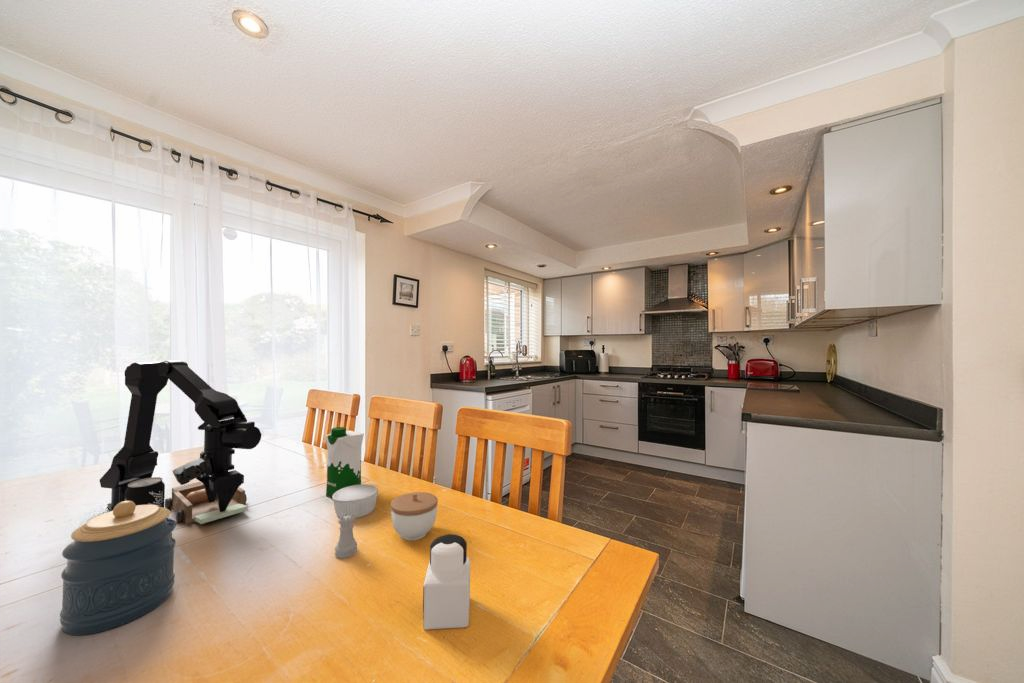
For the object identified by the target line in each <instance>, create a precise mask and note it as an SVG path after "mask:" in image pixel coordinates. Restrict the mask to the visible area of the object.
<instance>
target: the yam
mask: <svg viewBox="0 0 1024 683" xmlns="http://www.w3.org/2000/svg"><path fill="white" fill-rule="evenodd" d="M216 498H217V496H216ZM186 499H187V500H188V501H189V502H190V503H191V504H195V503H199V502H202V501H206V500H208V498H207V495H206V491H205V489H202V490H198V491H194V492H191V493H189V494H188V495H187V496H186Z"/></svg>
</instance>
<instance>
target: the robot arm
mask: <svg viewBox="0 0 1024 683" xmlns="http://www.w3.org/2000/svg"><path fill="white" fill-rule="evenodd" d="M169 380H170V382H171V383H173V385H175V386H176V387H177V388H178V389H179V390H180V391H181V392H182V393H184V395H185V396H187V397H188V398H189V400H191V401H192V402H193V404H194V412H195V413H196V414H197V416H198V417H199V418H200V419H201V421H202V422H203V423H201V424H200V425H199V426H197V430H199V431H204V436H203V437H204V440H203V450H201V452H199V453H200V454H199V458H197V459H195V460H194V459H193V460H192V461H189V462H187V463H185V464H183V465H181V466H178V467H177V468H176V467H175V468H174V469H172V471H171V472H172V473H173V475H174V478H175V479H176V482H177V483H178V484H180V486H183V485H187V484H189V482H191V481H192V480H194V479H196V481H198V482H202V483H203V485H204V488H205V491H206V495H207V498H208V501H209V503H211V502H214V501H215V499H216V496H217V501H218V507H219V511H220V512H223V511H225V510H226V508H227V507H228V505H229V503H230V501H231V499H232V497H233V496H234V494H235V492H236V491H237V489H238V487H241V485H243V484H244V483H245V475H244V474H242V473H241V472H239V471H238V470H236V469H235V464H234V463H232V462H233V455H234V454H236V452H235V451H236V450H235V449H239V450H253V449H254V448H256V447H257V446H258V445H259V444H260V442H261V439H262V432H261V430H260V429H259V427H257V426H256V423H255V421H248V420H247V419H248V418H247V417H246V415H245V414H244V413H243V411H242V409H241V407H240V405H239V403H238V401H237V399H235V398H234V397H232V396H230V395H229V394H227V393H224V392H221V391H217V390H215V388H213V387H212V386H210V385H209V384H208V383H207V382H206V381H205V380H204V379H203V378H201V377H200V376H199V375H198V374H197V373H196V372H195V371H194V370H193V369H191V367H189V365H188V362H186V361H184V360H178V359H174V360H165V361H148V362H147V361H146V362H141V361H139V362H132V363H131V364H129V365H127V366H126V368H125V369H124V385H125V386H126V388H127V389H128V390H129V392H130V393H131V398H130V404H129V410H128V416H127V423H126V430H125V436H124V442H123V443H124V444H123V447H121V449H119V451H118V452H117V453H116V454H115V455H114V456H113V458H112V460H111V465H110V468H109V469H108V470H107V471H106V472H105V473H104V474H103V475H102V476H101V477H100V479H99V484H100V488H103V489H111V497H110V498H111V499H110V500H111V501H110V503H107V504H106V505H107V508H108V509H109V512H110V511H113V509H114V507H115V506H116V505H117V504H118V503H120V502H123V501H125V491H126V489H127V488H128V484H129V483H131V482H134V481H137V480H141V479H145V478H153V473H154V471H155V468H156V466H158V458H159V452H158V451H155V450H154V448H152V446H151V440H152V439H151V438H152V432H153V425H154V419H155V413H156V408H157V407H156V406H157V402H158V401H157V399H158V395H159V393H160V392H161V391H162V390H164V388H166V386H167V385H168V382H169Z"/></svg>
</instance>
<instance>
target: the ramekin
mask: <svg viewBox="0 0 1024 683" xmlns="http://www.w3.org/2000/svg"><path fill="white" fill-rule="evenodd" d="M378 494H379V488H378V487H377V486H375V485H373V484H367V483H364V484H362V483H361V484H360V485H353V486H348V487H345V488H342V489H340V490H338V491H336V492H335V493H334V494H333V496H332V498H331V499H332V502H333V505H334V511H335V514H336V516H337V517H339V518H340V517H341V515H343V516H344V514H346V513H347V515H349V513H351V514H353V517H354V518H355V519H358V518H361V517H365V516H367V515H369V514H371V513H372V511H373V510H374V509H375V507H376V502H377V496H378Z"/></svg>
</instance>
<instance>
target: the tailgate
mask: <svg viewBox="0 0 1024 683" xmlns="http://www.w3.org/2000/svg"><path fill="white" fill-rule="evenodd" d="M248 508H249V507H248V505H246V504H245V505H243V504H240V503H239V504H236V505H232V506H229V507H227V508H226V510H225V511H223V512H220V511H219V509H218V510H215V511H211V512H208V513H204V514H201V515H197V516H194V521H196V522H195V523H198V524H200V525H203V524H208V523H209V522H213V521H217V520H219V519H224V518H226V517H229V516H233V515H236V514H240V513H243V512H245V511H248Z"/></svg>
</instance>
